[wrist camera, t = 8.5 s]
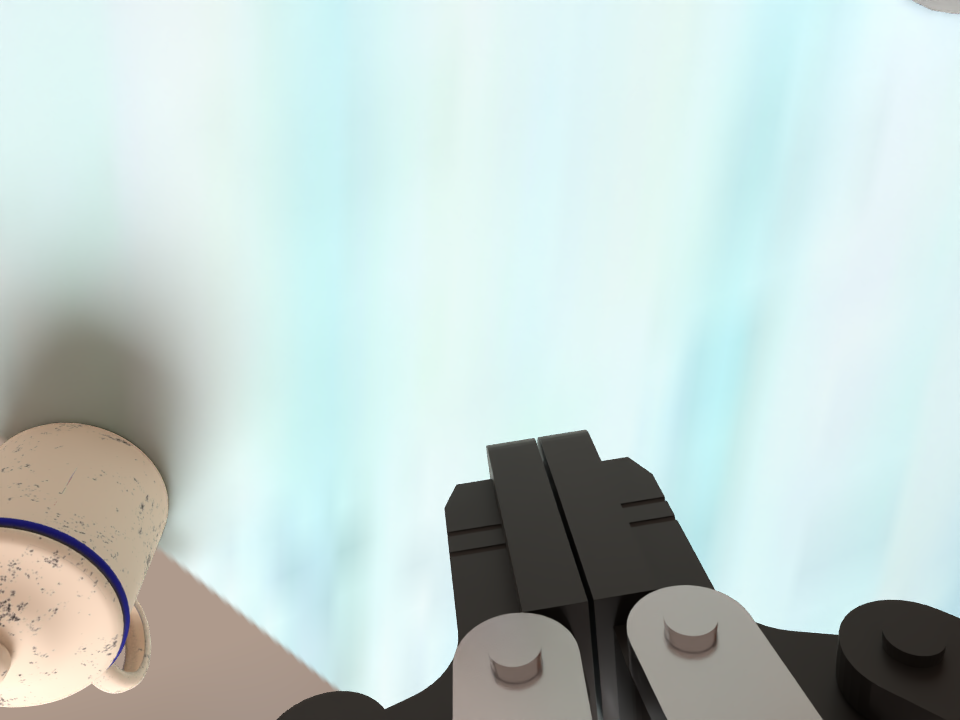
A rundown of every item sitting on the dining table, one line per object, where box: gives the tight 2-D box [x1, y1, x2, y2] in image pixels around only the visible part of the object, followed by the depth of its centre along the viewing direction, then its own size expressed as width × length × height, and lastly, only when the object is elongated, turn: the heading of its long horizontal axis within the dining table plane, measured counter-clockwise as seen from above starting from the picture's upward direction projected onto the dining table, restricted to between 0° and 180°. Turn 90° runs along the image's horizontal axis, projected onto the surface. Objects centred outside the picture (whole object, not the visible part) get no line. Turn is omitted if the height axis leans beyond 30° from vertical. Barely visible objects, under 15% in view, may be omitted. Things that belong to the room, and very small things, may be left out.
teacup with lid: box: [0, 423, 169, 707], centre depth 36 cm, size 12×9×12 cm
